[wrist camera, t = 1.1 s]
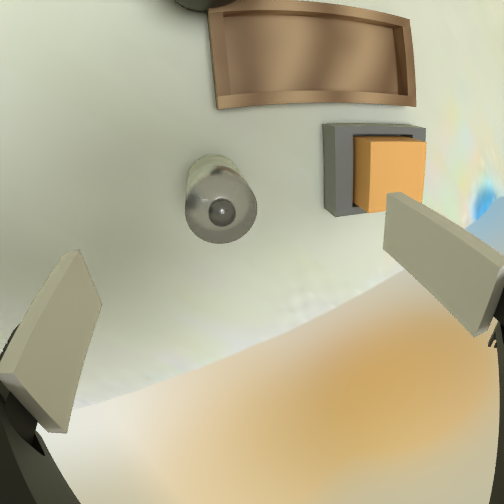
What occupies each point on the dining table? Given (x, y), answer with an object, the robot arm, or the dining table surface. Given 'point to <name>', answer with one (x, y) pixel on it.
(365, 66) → the wooden tray
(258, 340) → the dining table surface
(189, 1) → the mug
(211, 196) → the cell
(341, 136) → the frame
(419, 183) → the orange square block
